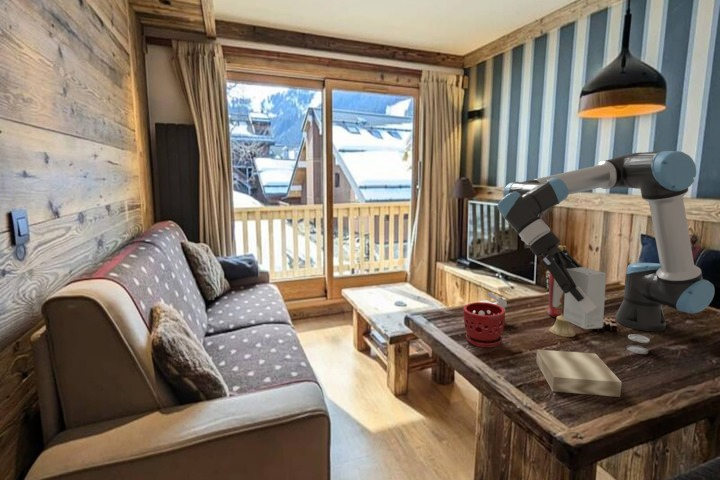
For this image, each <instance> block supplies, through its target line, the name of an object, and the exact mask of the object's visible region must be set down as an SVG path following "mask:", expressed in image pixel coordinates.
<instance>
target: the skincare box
mask: <svg viewBox="0 0 720 480" xmlns="http://www.w3.org/2000/svg"><path fill="white" fill-rule="evenodd" d="M567 271H568V273H569V274H570V276H571V278H572V279H573V281H574V283H575V285H576V286H577V287H578V286H579V287H580V288H581V289H582V291H583V292H584V293H585V294H586V295H587V296H588V298H589V299H590V300H591V301H592V302H593V304H594V305H595V306H596V307H597V308H595V309H594V310H592V311H590V312H588V313H586V312H585V311H584V310H583V308H582V307H581V306H580V305H579V304H578V302H577V301H576V300H575V299H574V298H573V296H572V295H571V294H570V293H569V292H568V293H567V294H565V298H564V317H563V319H564V320H566V321H569V322H571V324H573V325H575V326H577V327H580V328H582V329H583V330H591V329H603V326H604V315H605V314H604V313H605V302H606V300H605V297H606V283H607V273H606V272H604V271H603V272H602V271H598V270H595V269H591V268H587V267H584V266H582V267H579V268H569V269H567ZM577 287H576V288H577Z"/></svg>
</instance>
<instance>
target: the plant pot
mask: <svg viewBox="0 0 720 480" xmlns="http://www.w3.org/2000/svg"><path fill="white" fill-rule="evenodd" d="M492 303H493V302H492ZM492 303H484V302H481V301H478V302H471V303H468V304H466V305H464V306H463V311H462V312H463V313H462V314H463V323H464V328H465V331H466V333H465V338H466V340H467V342H469V343H470V344H472V345H474V346H477V347H478V348H479V347H480V348H493V347H496V346H498V345H500V344H501V343H502V341H503V337H502V336H501V335H502V333H503V330H504V328H505V322H506V309H505V310H504V309H503V308H502V307H501V306H499V305H496V304H492ZM487 310H490V311H491V313H490V314H488V313H487ZM473 311H475V313H473ZM479 311H484V313H485V315H479V314H478V313H479ZM498 313H499V314H498ZM493 314H495V315H493ZM500 322H501V323H500Z"/></svg>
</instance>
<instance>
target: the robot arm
mask: <svg viewBox="0 0 720 480" xmlns="http://www.w3.org/2000/svg"><path fill="white" fill-rule="evenodd" d="M696 177H697V166H696V163H695V161H694V159H693V158H692V157H691V156H690V155H688V154H687V153H686V152H683V151H679V150H675V151H674V150H660V151H647V152H634V153H629V154H625V155H621V156H617V157H614V158H610V159H607V160H603V161H599V162H598V163H597V164H596V165H594V166H593V165H592V166H588V167H583V168H579V169H575V170H571V171H566V172H563V173H562V172H561V173H557V174H552V175H547V176H542V177H538V178H533V179H530V180H529V179H528V180H524V181H514V182H509V183H508V184H507V185H506V186H505V187H504V190H503V198H501V199H500V200H499V202H498V203H497V206H496V207H497V209H498V212H499V213H500V215H501V216H502V217H503V219H504V220H506V222H507V223H508V224H509V225H510V226H511V228H513V229H514V231H515V232H516V233H517V235H518V236H519V237H520V238H521V239H520V240H521V241H522V242H524V243H525V244H526V246H529V249H530V251H531V252H532V253H533V254H534V256H536V257H538V258H540V257H542V256H543V259H541V260H540V262H541V263H542V264H543V265H544V267H545V268H546V269H547V270H548V271H549V274H550V273H551V275H552V276H553V277H554V279H555V280H556V282H557V283H558V285H559V286H560V288H561V289H562V290H563V292H564V293H565V294H567V293H568V292H569V293H570V294H571V295H572V296H573V298H574V299H575V300H576V301H577V302H578V304H579V305H580V306H581V307H582V308H583V310H584V311H585V312H586V313H588V312H590V311H592V310H594V309H595V308H597V307H596V306H595V305H594V304H593V302H592V301H591V300H590V299H589V298H588V296H587V295H586V294H585V293H584V292H583V291H582V289H581V288H580V287H579V286H578V287H577V286H576V285H575V283H574V281H573V279H572V278H571V276H570V274H569V273H568V271H567V269H569V268H579V267H583V266H582V265H580V264H579V262H578V261H576V259H575V258H573V256H572V255H571V254H570V253H569V252H568V251H567V249H566V250H565V249H564V250H562V251H561V250H560V249H559V248H558V246H559V244H560V243H561V240H560V239H559V237H558V236H557V235H556V234H555V232H553V231H551V228H550V227H549V226H548V225H547V224H546V222H544V220H543V219H542V218H541V217H540V215H541V214H544V213H545V212H547V211H549V210H550V209H552V208H554V207H555V206H557V205H559V204H560V203H561V202H563V201H565V200H566V199H567V198H568V196H569V195H573V194H579V193H583V192H586V191H590V190H596V189H603V190H608V189H616V188H618V189H621V188H623V189H624V188H625V189H626V188H627V189H638V190H640V194H641V198H642V200H644V201H646V202H648V204H649V206H648V207H649V209H650V216H651V221H652V227H653V232H654V237H655V243H656V249H657V255H658V259H659V263H655V262H633V263H630V264H628V266H627V269H626V272H625V281H624V292H623V300H622V303H621V304H620V306H619V308H618V309H617V311H616V314H615V321H616V322H617V323H618V324H620V325H622V326H624V327H627V328H630V329H633V330H639V331H646V332H661V331H665V329H666V325H667V324H666V323H667V322H666V319H665V314H664V312H663V306H666V307H669V308H671V309H675V310H677V311H678V312H684V313H687V314H698V313H700V312H702V311H705V310H706V308H707V307H708V306H709V305H710V304H711V303H712V301H713V299H714V296H715V286H714V284H713V283H712V282H710V281H709V280H707V279H704V278H703V273H702V269H701V267H699V266H697V265H695V263H694V256H693V249H692V243H691V239H690V238H691V237H690V232H689V226H688V219H687V213H686V207H685V201H684V197H685V195H687V193H689V188H690V187H691V186H692V185H693V183H694V182H695V179H694V178H696ZM576 287H577V288H576ZM605 301H607V297H606V296H605Z"/></svg>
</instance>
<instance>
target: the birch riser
mask: <svg viewBox="0 0 720 480" xmlns="http://www.w3.org/2000/svg"><path fill="white" fill-rule="evenodd" d="M535 362H536V365H537V366H538V368H539V370H540V371H541V373H542V375H543V377H544V379H545V380H546V382H547V383H548V385H549V388H550V389H551V391H552V392H558V393H559V392H560V393H568V394H569V393H572V394H582V395H583V394H584V395H595V396H597V395H598V396H605V397H615V398H617V397H619V398H620V397H621V392H622V383H623V382H622V381H621V380H620V379H619V378H618V376H617V375H616V374H615V373H614V372H613V371H612V369H610V368H609V366H607V365H606V363H605V362H604V361H603V360H602V359H601V358H600V357H599V356H598V354H596V353H595V352H594V353H591V352H581V351H580V352H576V351H563V350H548V349H536V360H535Z"/></svg>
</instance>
